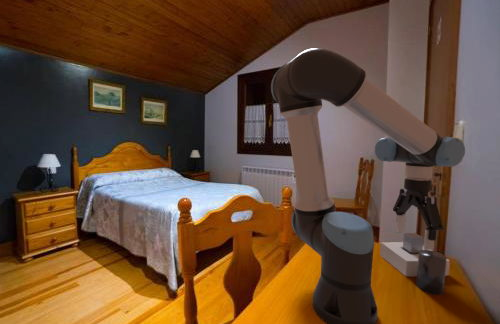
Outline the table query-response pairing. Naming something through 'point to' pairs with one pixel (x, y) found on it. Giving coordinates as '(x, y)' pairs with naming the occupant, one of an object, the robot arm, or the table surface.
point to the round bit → (431, 272)
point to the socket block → (403, 258)
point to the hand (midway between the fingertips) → (413, 240)
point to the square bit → (412, 243)
